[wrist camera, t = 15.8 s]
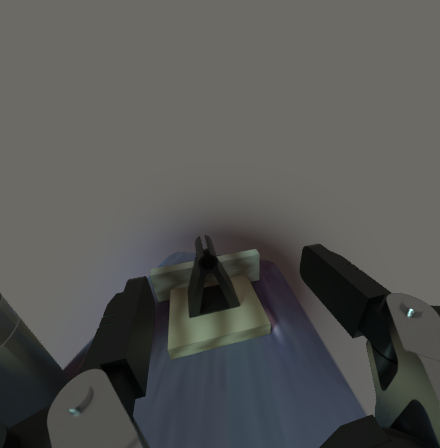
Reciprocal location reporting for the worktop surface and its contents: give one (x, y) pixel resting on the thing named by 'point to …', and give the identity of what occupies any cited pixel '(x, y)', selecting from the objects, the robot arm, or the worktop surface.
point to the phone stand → (213, 295)
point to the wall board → (218, 321)
